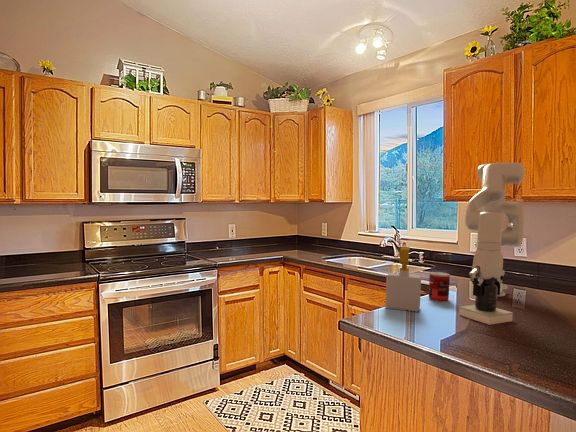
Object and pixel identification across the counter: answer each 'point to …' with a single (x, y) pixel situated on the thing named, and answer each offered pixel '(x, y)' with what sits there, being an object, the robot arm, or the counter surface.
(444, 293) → the canned food
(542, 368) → the counter surface
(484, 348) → the counter surface
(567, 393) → the counter surface
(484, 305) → the supplement bottle
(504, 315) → the plate
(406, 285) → the soap bottle
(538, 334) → the counter surface
